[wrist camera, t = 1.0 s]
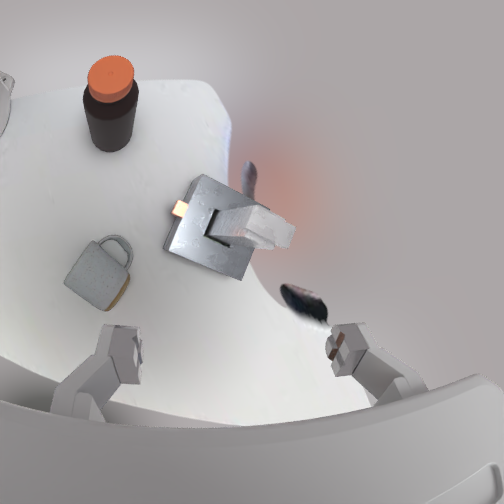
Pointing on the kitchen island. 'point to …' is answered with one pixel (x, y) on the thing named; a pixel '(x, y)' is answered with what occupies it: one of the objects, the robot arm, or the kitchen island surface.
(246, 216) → the column
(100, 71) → the bottle
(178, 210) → the stand sleeve
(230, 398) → the kitchen island surface
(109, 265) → the ceramic mug
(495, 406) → the robot arm
